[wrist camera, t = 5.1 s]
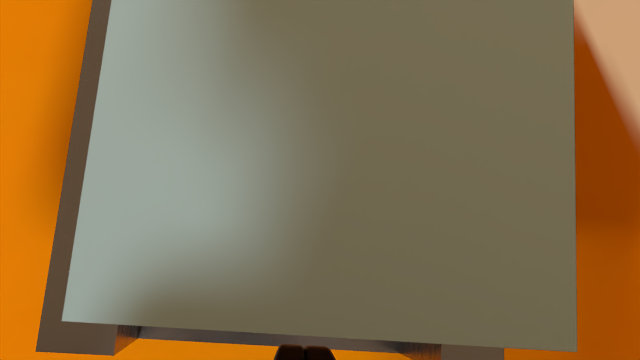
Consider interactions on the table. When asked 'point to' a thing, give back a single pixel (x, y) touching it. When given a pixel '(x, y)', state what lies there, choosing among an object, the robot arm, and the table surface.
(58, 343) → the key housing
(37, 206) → the table surface
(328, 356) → the robot arm
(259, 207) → the plunger key
